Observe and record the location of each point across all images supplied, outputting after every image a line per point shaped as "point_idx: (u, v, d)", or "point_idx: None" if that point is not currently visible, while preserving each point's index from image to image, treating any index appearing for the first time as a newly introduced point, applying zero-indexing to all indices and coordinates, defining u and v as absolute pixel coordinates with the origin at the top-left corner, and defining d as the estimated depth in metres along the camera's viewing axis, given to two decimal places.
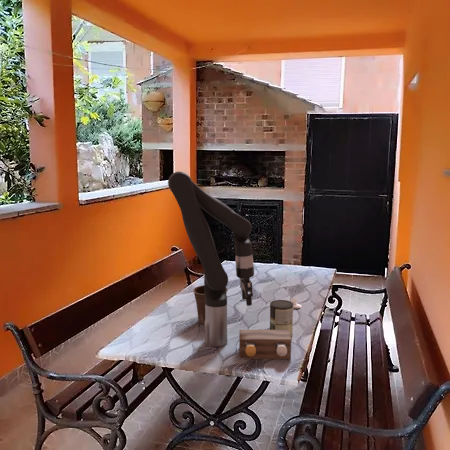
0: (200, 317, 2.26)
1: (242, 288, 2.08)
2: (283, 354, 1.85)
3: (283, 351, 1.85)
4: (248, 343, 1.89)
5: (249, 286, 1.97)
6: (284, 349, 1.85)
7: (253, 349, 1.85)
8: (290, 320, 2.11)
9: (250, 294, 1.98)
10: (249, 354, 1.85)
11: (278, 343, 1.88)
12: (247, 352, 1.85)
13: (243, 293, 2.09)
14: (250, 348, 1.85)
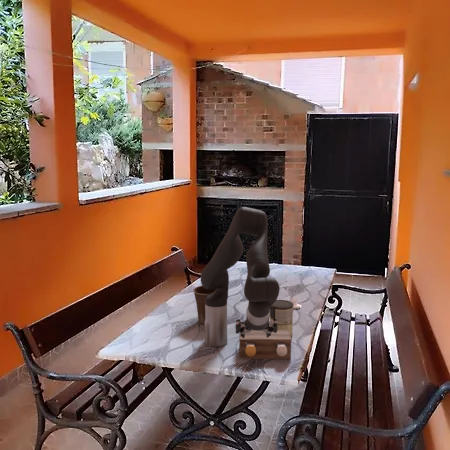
0: (200, 317, 2.26)
1: None
2: (283, 354, 1.85)
3: (283, 351, 1.85)
4: (248, 343, 1.89)
5: (236, 324, 1.63)
6: (284, 349, 1.85)
7: (253, 349, 1.85)
8: (290, 320, 2.11)
9: None
10: (249, 354, 1.85)
11: (278, 343, 1.88)
12: (247, 352, 1.85)
13: None
14: (250, 348, 1.85)
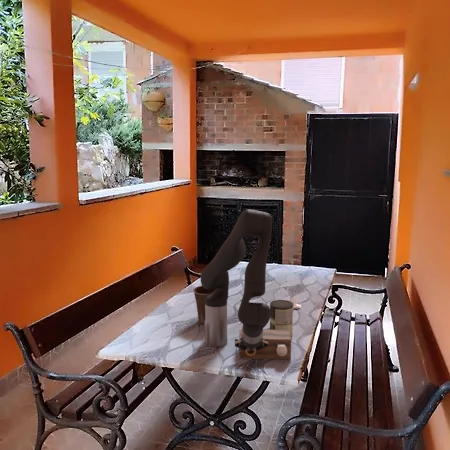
0: (200, 317, 2.26)
1: None
2: (283, 354, 1.85)
3: (283, 351, 1.85)
4: None
5: None
6: (284, 349, 1.85)
7: None
8: (290, 320, 2.11)
9: (243, 347, 1.80)
10: (249, 354, 1.85)
11: (278, 343, 1.88)
12: None
13: (250, 347, 1.83)
14: None
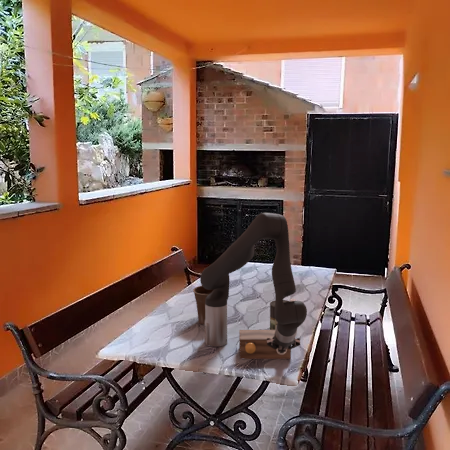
0: (200, 317, 2.26)
1: None
2: None
3: None
4: None
5: None
6: None
7: (253, 346, 1.87)
8: None
9: (274, 345, 1.81)
10: (249, 351, 1.87)
11: None
12: (247, 349, 1.87)
13: (282, 346, 1.84)
14: (250, 345, 1.87)
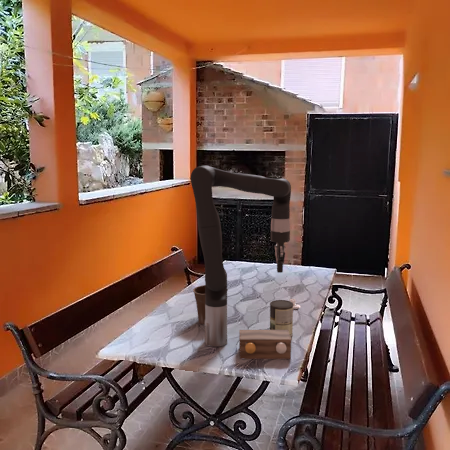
0: (200, 317, 2.26)
1: None
2: (282, 351, 1.87)
3: (282, 348, 1.87)
4: None
5: (281, 256, 1.86)
6: (283, 346, 1.87)
7: (253, 346, 1.87)
8: (290, 320, 2.11)
9: (281, 260, 1.89)
10: (249, 351, 1.87)
11: None
12: (247, 349, 1.87)
13: None
14: (250, 345, 1.87)
